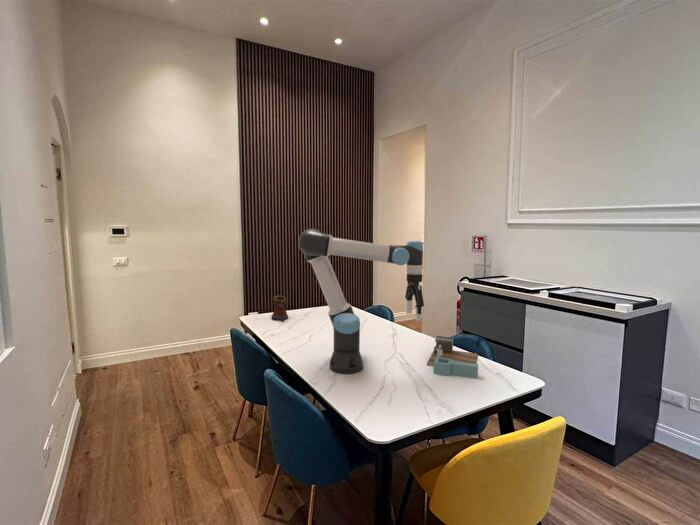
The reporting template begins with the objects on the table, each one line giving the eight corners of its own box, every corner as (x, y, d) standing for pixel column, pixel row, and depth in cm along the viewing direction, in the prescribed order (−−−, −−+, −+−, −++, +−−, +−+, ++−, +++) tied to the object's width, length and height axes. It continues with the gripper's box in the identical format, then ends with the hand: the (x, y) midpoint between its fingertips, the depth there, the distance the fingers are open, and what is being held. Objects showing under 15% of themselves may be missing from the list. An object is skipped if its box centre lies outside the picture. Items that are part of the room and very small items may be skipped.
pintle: (441, 364, 177) (442, 346, 176) (436, 363, 178) (436, 345, 177) (442, 362, 179) (442, 344, 178) (437, 361, 180) (437, 344, 179)
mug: (293, 322, 247) (292, 299, 245) (275, 323, 242) (275, 300, 241) (286, 315, 263) (286, 294, 262) (269, 317, 259) (269, 295, 257)
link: (433, 373, 166) (433, 362, 165) (436, 367, 172) (436, 357, 172) (477, 380, 159) (477, 368, 159) (477, 373, 166) (478, 362, 165)
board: (474, 372, 168) (474, 370, 168) (426, 365, 175) (426, 363, 175) (477, 354, 190) (477, 353, 190) (434, 349, 198) (435, 348, 198)
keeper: (450, 356, 186) (451, 342, 185) (433, 353, 189) (434, 340, 188) (452, 350, 194) (453, 337, 193) (436, 348, 197) (436, 335, 196)
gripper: (431, 276, 171) (430, 323, 173) (413, 269, 195) (412, 310, 198) (415, 277, 170) (414, 323, 172) (399, 270, 194) (398, 311, 197)
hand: (413, 316), depth 185 cm, fingers open, 13 cm apart
